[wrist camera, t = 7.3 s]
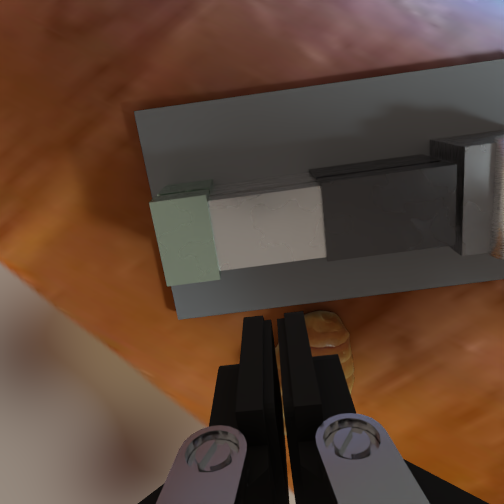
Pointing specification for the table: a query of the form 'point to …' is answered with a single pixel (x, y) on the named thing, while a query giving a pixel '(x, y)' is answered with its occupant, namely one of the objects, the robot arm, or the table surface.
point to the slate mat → (317, 156)
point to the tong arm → (306, 221)
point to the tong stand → (443, 149)
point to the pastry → (326, 343)
